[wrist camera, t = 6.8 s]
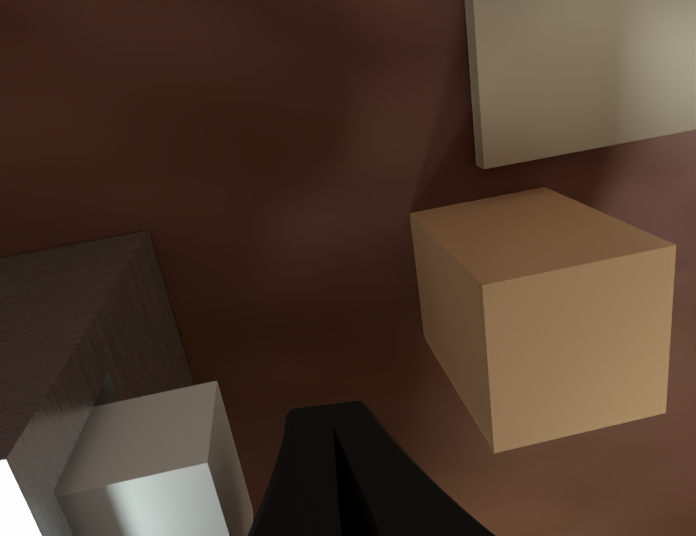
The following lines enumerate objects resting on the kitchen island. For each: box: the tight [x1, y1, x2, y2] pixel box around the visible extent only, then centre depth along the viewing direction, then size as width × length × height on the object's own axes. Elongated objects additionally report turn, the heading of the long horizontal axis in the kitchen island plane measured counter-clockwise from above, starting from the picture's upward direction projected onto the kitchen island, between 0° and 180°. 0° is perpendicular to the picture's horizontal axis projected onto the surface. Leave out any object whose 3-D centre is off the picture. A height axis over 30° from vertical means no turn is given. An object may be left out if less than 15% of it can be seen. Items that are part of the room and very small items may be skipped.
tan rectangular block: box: [410, 187, 676, 453], centre depth 14 cm, size 4×4×6 cm
